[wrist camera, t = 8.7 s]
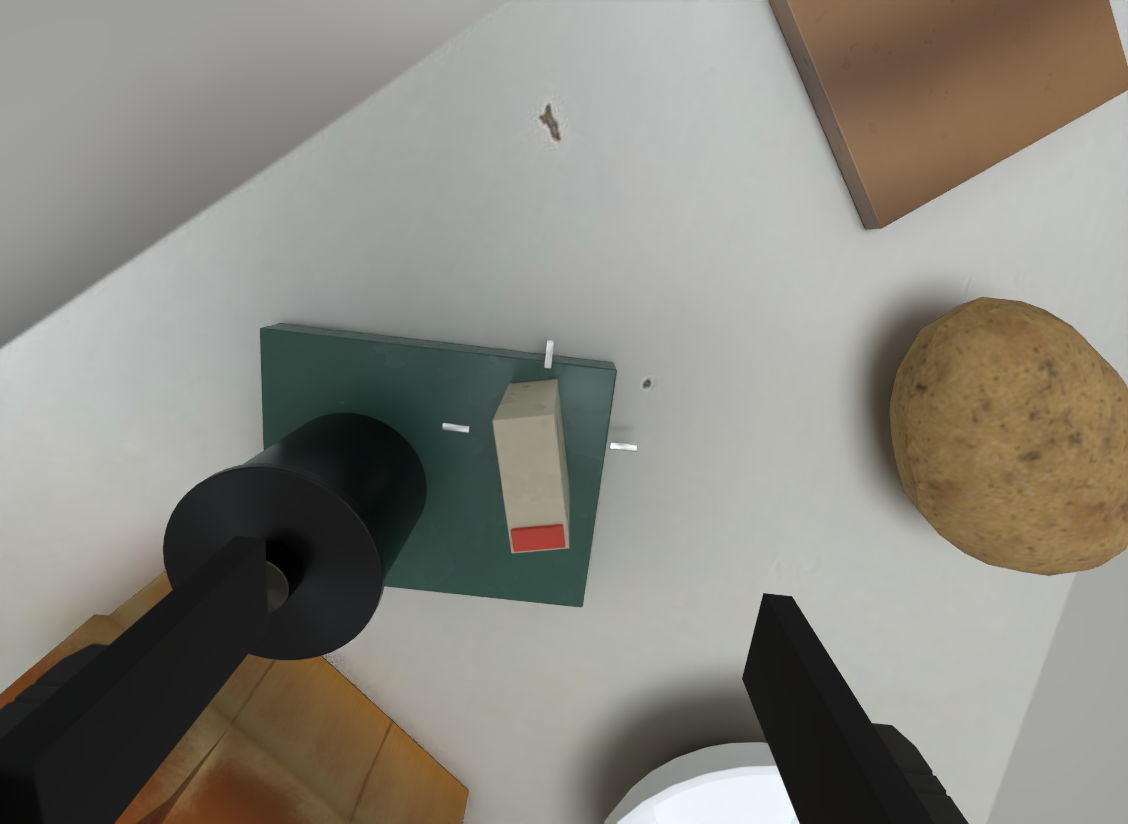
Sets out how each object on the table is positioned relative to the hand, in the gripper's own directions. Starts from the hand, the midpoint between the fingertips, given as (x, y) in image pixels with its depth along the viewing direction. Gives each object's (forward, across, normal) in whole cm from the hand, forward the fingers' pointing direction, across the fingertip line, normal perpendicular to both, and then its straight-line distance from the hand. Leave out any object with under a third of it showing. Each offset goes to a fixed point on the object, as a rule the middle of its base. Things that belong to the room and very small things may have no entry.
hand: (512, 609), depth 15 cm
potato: (+17, +22, +3) cm, 28 cm away
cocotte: (+15, -10, -4) cm, 18 cm away
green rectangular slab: (+17, -6, -3) cm, 18 cm away
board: (+17, +16, +21) cm, 31 cm away
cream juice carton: (+15, 0, 0) cm, 15 cm away
